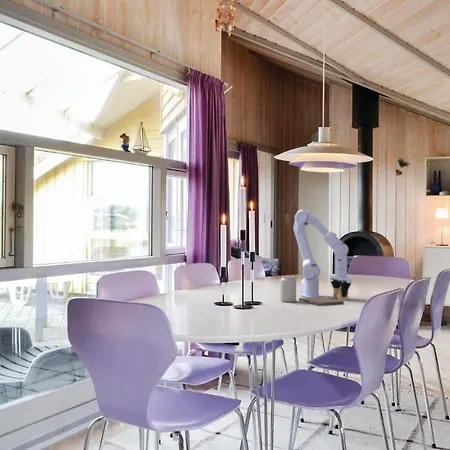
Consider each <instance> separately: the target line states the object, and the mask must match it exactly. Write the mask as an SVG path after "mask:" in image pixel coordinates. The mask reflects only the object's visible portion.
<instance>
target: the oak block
mask: <svg viewBox="0 0 450 450" xmlns="http://www.w3.org/2000/svg"><path fill="white" fill-rule="evenodd" d="M332 289H333V290H332V291H333V295H332V296H333V297H332V299H336V300H340V301H347V300H349V291H348V292H347V296H346V297H342V293H341V287H340V288H333V287H332Z"/></svg>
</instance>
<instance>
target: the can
mask: <svg viewBox="0 0 450 450" xmlns="http://www.w3.org/2000/svg"><path fill="white" fill-rule="evenodd" d="M279 284H280V285H279V287H280V289H279V291H280V293H279V298H280V299H279V300H280V301H281V302H282V303H294V302H295V301H296V300H297V278H296V276H294V275H282V276H281V279H280V282H279Z"/></svg>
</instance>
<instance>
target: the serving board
mask: <svg viewBox="0 0 450 450" xmlns="http://www.w3.org/2000/svg"><path fill="white" fill-rule="evenodd" d="M298 301H299V302H303V303H306V304H310V305H313V306H319V307H320V306H321V305H322V306H331V305H332V306H334V305H344V304H345V303H344V301H345V300H337V299H333V297H332V298H331V297H327V296H322V297H299V298H298Z"/></svg>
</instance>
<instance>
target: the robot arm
mask: <svg viewBox="0 0 450 450" xmlns="http://www.w3.org/2000/svg"><path fill="white" fill-rule="evenodd" d="M308 225H312V226H313V227H315V228H316V229H317V230H318V231H319V232H320V234H321V235H323V240H324V242H325V243H326V244H328V246H329V248H331V249H332V250H333V253H334V264H335V265H334V275H330V284H331V286H332V289H333V288H341V293H342V297H346V296H347V292H348V293H349V289H350V288H351V286H352V283H353V282H352V281H353V279H352V278H349V277H348V257H347V256H348V253H349V247H348V245H347V244H346V243H344V241H343V240H341V239H339V237H338V236H337V233H336V232H333V231H329V230H328V229H327V226H325V225H324V224H323V223H322V221H321V220H320V219H319V218H318V216H317V215H316V214H315V213H313V212H312V211H311V210H309V209H307V210H306V209H299V210H297V212H296V214H295V215H294V223H293V232H294V236H295V239H296V242H297V245H298V248H299V251H300V256H301V258H302V275H303V277H304V278H303V279H301V282H300V293H299V294H298V296H301V297H304V298H308V297H323V295H320V278H319V276H320V275H321V268H320V267H319V266H318V264H317V262H316V260H315V259H314V257H313V253H312V251H311V247H310V244H309V240H308V238H307V234H306V231H305V229H306V228H307V226H308Z"/></svg>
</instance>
